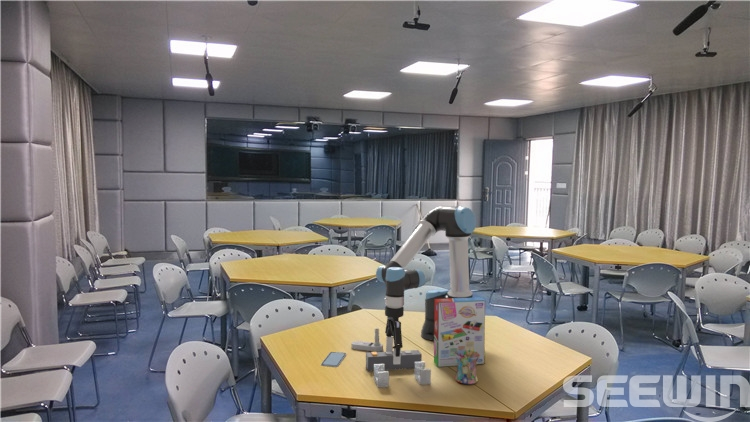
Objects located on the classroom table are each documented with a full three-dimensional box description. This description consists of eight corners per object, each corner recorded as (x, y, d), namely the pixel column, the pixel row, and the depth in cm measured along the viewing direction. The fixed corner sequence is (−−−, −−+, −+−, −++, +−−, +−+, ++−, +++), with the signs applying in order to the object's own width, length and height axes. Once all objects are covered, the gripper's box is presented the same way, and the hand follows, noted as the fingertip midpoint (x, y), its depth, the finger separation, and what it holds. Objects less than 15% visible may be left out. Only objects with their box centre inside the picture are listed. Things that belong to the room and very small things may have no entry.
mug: (452, 376, 185) (453, 349, 185) (476, 376, 185) (477, 349, 184) (456, 389, 173) (457, 360, 173) (482, 389, 173) (482, 361, 172)
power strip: (417, 364, 198) (418, 348, 198) (421, 368, 193) (421, 352, 193) (365, 367, 194) (366, 351, 193) (367, 371, 189) (368, 355, 188)
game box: (479, 360, 203) (481, 296, 202) (485, 364, 198) (486, 300, 196) (432, 362, 199) (434, 298, 198) (436, 367, 194) (438, 301, 193)
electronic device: (353, 325, 220) (384, 328, 214) (354, 346, 220) (384, 349, 215) (349, 328, 215) (380, 331, 209) (349, 349, 215) (380, 353, 210)
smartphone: (320, 364, 194) (330, 351, 209) (320, 367, 194) (330, 353, 209) (337, 366, 193) (346, 352, 207) (337, 368, 193) (346, 355, 207)
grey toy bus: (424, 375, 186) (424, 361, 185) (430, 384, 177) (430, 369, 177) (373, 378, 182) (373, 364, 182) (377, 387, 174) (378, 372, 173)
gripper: (379, 299, 204) (377, 348, 204) (392, 314, 179) (390, 369, 180) (396, 298, 205) (394, 347, 206) (411, 313, 180) (409, 368, 181)
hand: (392, 358), depth 193 cm, fingers open, 13 cm apart
